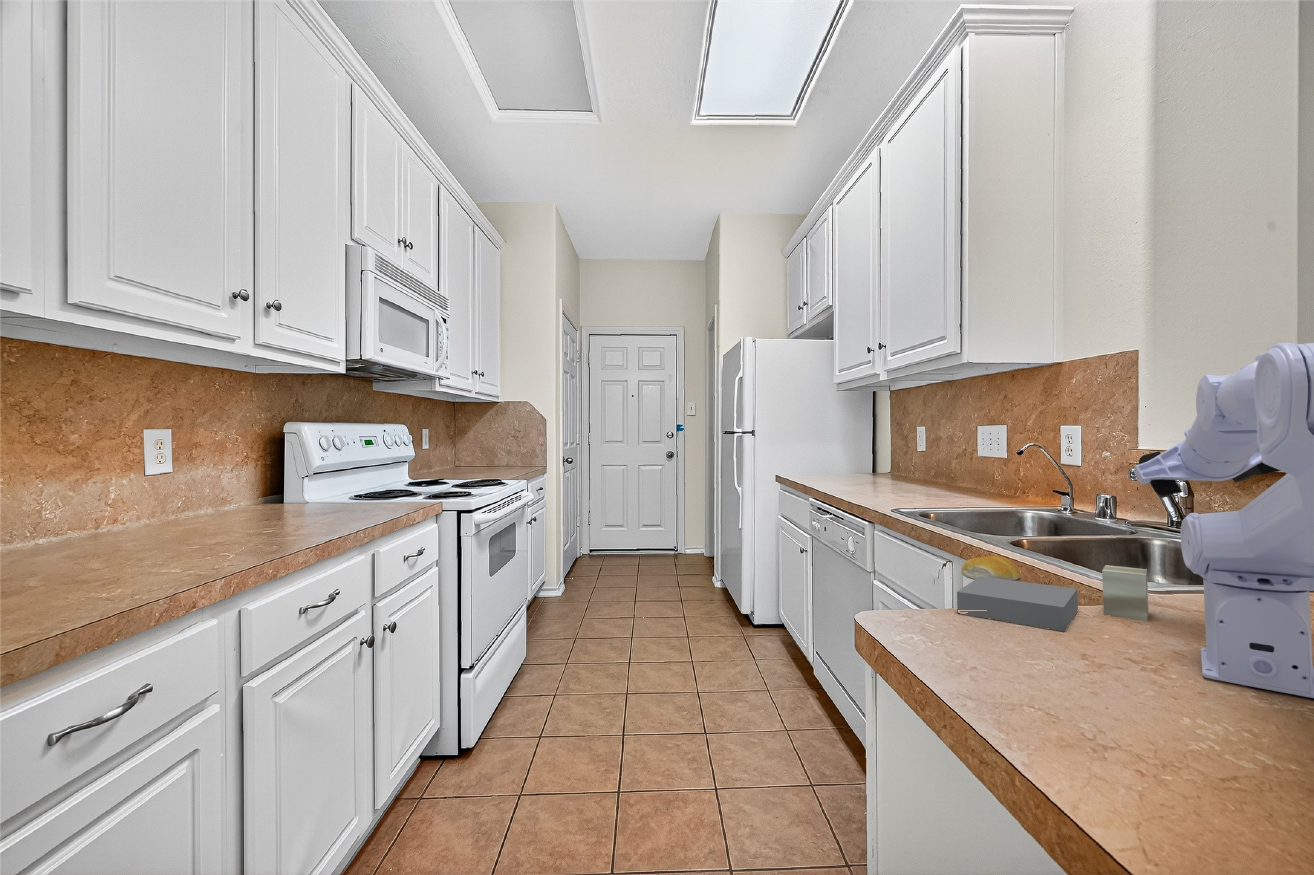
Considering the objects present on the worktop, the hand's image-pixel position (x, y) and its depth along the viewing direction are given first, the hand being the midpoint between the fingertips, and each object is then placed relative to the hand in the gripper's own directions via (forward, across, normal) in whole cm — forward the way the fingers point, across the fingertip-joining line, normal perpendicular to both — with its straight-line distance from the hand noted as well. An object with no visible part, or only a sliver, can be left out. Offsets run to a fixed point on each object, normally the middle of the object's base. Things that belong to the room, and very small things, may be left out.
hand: (1195, 482), depth 73 cm
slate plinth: (0, +25, +12) cm, 28 cm away
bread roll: (+20, +26, +3) cm, 33 cm away
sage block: (+5, +13, +14) cm, 20 cm away
